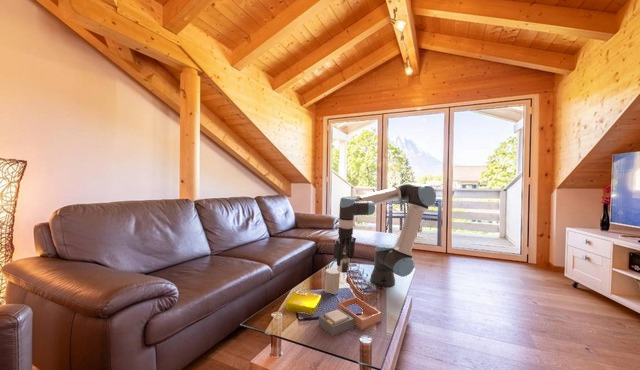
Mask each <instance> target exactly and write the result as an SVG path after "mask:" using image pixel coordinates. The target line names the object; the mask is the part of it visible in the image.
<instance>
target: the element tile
mask: <svg viewBox="0 0 640 370" xmlns="http://www.w3.org/2000/svg"><path fill="white" fill-rule="evenodd" d="M320 302H321V303H322V294H320V293H316V292H311V291H306V290H300V289H296V290H293V292H292V294H291V295H290V296H289V297H288V298H287V299H286V301H285V311H287V312H291V313H292V312H293V313H298V312H305V313H308V314H313V313H315V311H316V309H317V307H318V306H319V307H320V305H321V304H320ZM319 304H320V305H319ZM319 307H318V308H319ZM317 310H318V309H317ZM316 312H317V311H316ZM298 314H299V313H298ZM315 314H316V313H315Z"/></svg>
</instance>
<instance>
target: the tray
mask: <svg viewBox="0 0 640 370" xmlns="http://www.w3.org/2000/svg"><path fill="white" fill-rule="evenodd" d="M355 303H356V304H358V305H359V306H360V307H361V308H362V309H363V314H362V315H360V316H357V315H356V314H354V313H353V312H351V311H350V310H348V309H347V308H346V307H347V306H349V305H352V304H355ZM337 309H341V310H342V311H344V312H345V313H346V314H348V315H349V316H351V317H352V318H353V319H354V322H353V325H354V324H355V327H357V328H358V327H359V329H360V330H361V331H362V330H363V331H364V330H365V329H368V328H370V327H372V326H374V325H376V324H378V323H381V321H382V320H381V319H382V312H381V311H379V310H378V309H376V308H375V307H374V306H372V305H370V304H368V303H367V302H365V301H363V300H362V299H360V298H359V297H357V296H354V297H352V298H348V299H346V300H343V301H340V302H338V303H337ZM337 309H336V310H337Z"/></svg>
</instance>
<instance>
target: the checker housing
mask: <svg viewBox="0 0 640 370" xmlns="http://www.w3.org/2000/svg"><path fill="white" fill-rule="evenodd" d="M338 310H339V311H341V312H342V313H343V314H345V315H346V316H348V320H345V321H343V322H340V323H338V324H335V325H334V324H333V323H332V322H331V321H330V320H327V319H326V318H325V314H326V313H327V312H326V313H323V314H320V315H318V325H319V326H320V327H321V328H322V329H324V331H326V332H327V333H328V334H329V335H330V336H331V337H333V336H336V335H338V334H340V333H344V332H345V331H347V330H348V331H349V330H350V329H352V328H354V324H353V322H354V319H353V318H352V317H351V316H349V315H348V314H346V313H345V312H344V311H342V310H341V309H338Z"/></svg>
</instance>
